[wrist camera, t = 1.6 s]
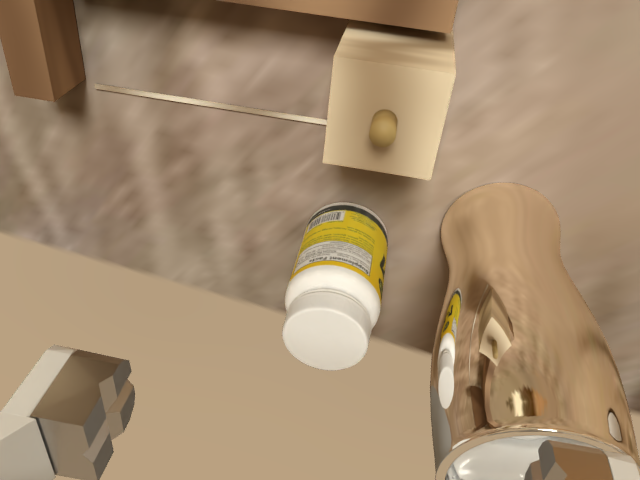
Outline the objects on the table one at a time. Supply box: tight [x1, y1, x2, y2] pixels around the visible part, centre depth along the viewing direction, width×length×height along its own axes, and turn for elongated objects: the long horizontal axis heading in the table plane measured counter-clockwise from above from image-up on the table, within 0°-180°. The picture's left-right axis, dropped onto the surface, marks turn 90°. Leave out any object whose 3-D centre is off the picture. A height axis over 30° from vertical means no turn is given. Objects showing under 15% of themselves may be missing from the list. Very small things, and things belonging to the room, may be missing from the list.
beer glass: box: [430, 183, 640, 480], centre depth 25 cm, size 7×7×15 cm
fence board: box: [0, 0, 458, 125], centre depth 25 cm, size 20×8×3 cm, turn 85°
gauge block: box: [323, 19, 456, 180], centre depth 24 cm, size 4×4×7 cm
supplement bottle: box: [282, 202, 388, 371], centre depth 29 cm, size 5×5×8 cm
